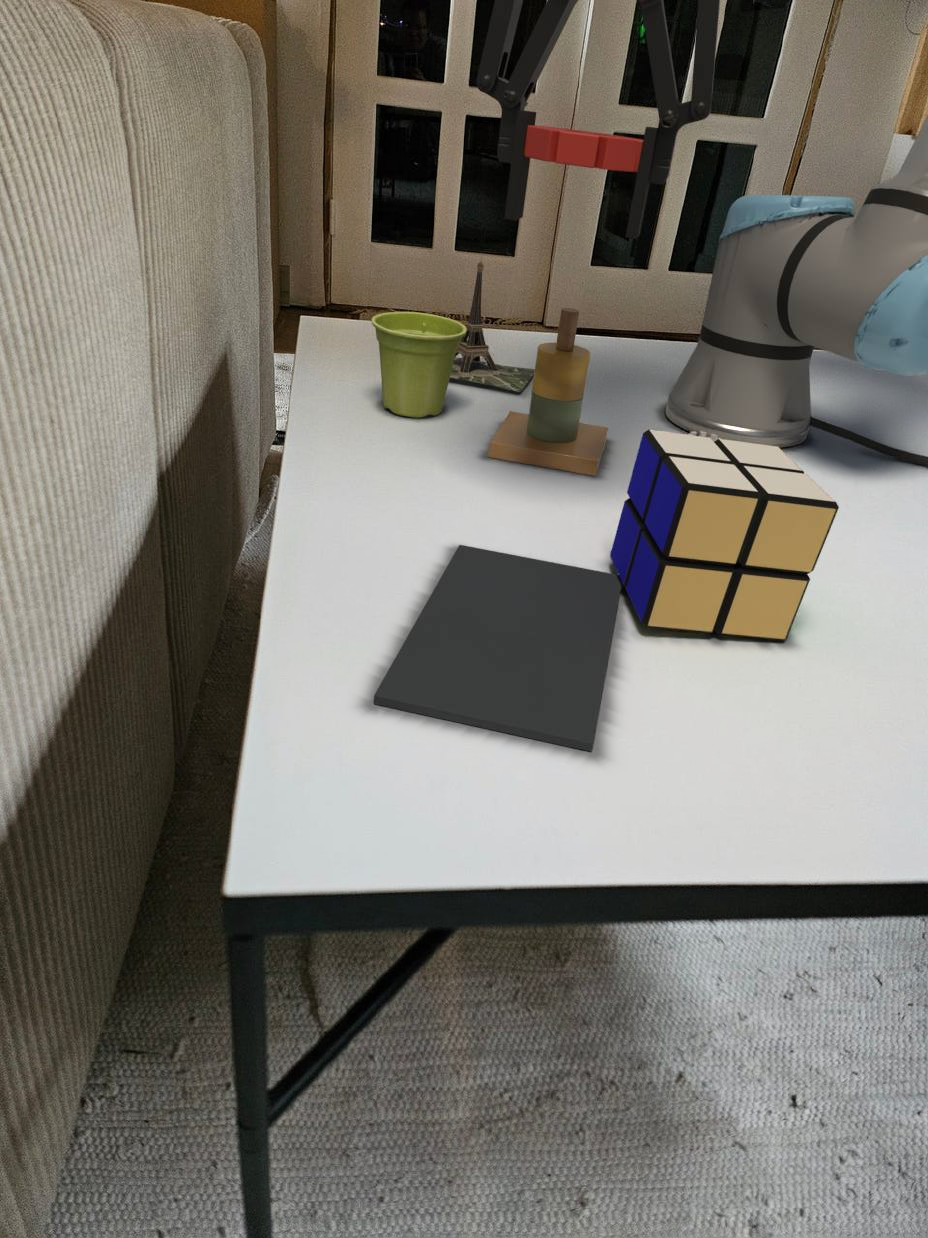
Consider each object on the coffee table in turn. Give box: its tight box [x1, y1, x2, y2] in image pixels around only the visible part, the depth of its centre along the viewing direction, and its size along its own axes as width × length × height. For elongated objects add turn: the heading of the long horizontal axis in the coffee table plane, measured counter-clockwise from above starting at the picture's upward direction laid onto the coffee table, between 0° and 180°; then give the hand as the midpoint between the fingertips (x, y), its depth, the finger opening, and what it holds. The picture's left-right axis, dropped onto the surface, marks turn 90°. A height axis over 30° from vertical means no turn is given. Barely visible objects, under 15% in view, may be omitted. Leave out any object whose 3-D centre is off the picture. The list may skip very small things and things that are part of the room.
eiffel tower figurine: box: [450, 252, 535, 393], centre depth 104 cm, size 15×10×13 cm
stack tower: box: [487, 307, 609, 477], centre depth 84 cm, size 10×10×13 cm
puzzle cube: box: [609, 429, 840, 642], centre depth 60 cm, size 10×10×10 cm
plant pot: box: [371, 311, 467, 419], centre depth 91 cm, size 9×9×9 cm
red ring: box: [524, 124, 644, 173], centre depth 60 cm, size 8×8×2 cm
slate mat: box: [373, 544, 623, 752], centre depth 57 cm, size 12×20×1 cm, turn 167°
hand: (572, 226), depth 62 cm, fingers closed on red ring, 8 cm apart
